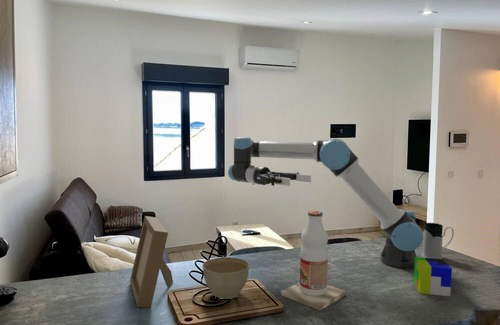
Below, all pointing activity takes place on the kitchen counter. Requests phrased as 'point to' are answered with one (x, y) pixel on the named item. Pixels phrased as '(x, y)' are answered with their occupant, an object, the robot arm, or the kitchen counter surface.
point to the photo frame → (149, 262)
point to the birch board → (313, 301)
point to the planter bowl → (226, 276)
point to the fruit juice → (314, 256)
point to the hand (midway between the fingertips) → (300, 180)
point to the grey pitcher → (433, 240)
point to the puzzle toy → (432, 276)
